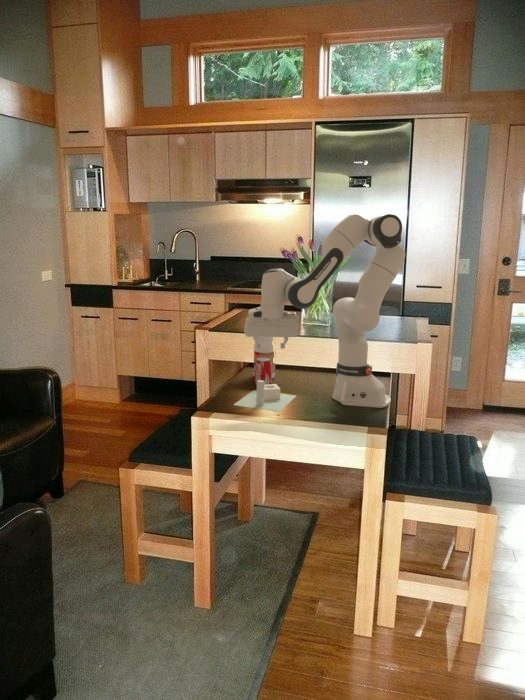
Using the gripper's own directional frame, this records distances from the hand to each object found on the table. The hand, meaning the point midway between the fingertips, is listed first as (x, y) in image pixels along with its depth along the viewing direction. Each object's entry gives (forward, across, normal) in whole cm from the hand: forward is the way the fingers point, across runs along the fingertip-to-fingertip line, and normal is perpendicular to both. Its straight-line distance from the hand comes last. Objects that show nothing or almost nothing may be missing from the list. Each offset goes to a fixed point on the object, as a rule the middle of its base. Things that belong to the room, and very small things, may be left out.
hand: (270, 348), depth 210 cm
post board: (+20, +2, +5) cm, 21 cm away
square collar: (+19, 0, +2) cm, 19 cm away
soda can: (+20, 0, -16) cm, 26 cm away
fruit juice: (+20, -3, -31) cm, 37 cm away
